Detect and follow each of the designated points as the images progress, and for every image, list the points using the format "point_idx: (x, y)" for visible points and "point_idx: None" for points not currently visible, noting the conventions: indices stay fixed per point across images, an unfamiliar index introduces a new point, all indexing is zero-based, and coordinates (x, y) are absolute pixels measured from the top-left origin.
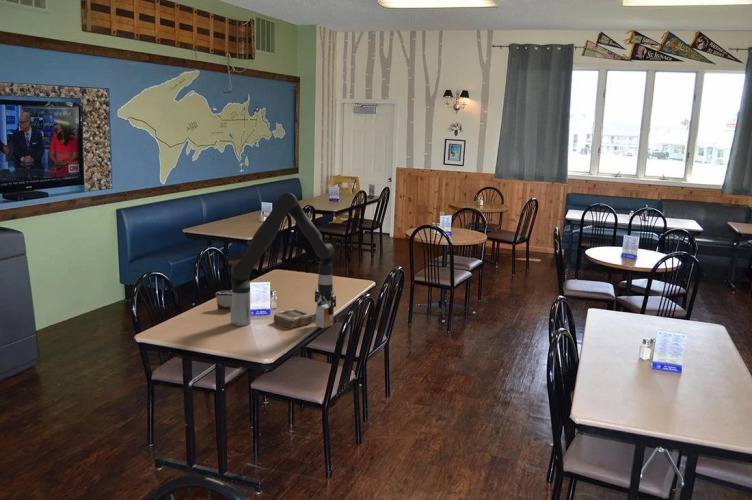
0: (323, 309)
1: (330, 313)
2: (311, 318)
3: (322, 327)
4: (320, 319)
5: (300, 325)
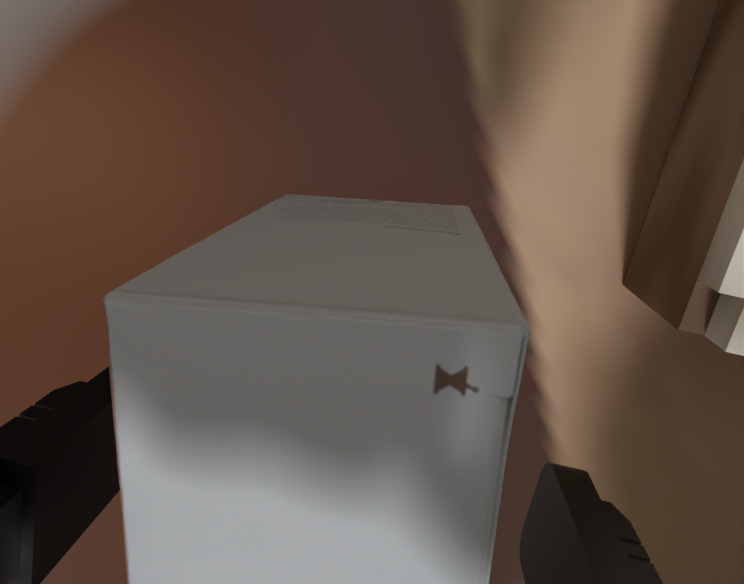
0: (127, 285)
1: (76, 389)
2: (659, 310)
3: (305, 196)
4: (331, 219)
5: (722, 16)
